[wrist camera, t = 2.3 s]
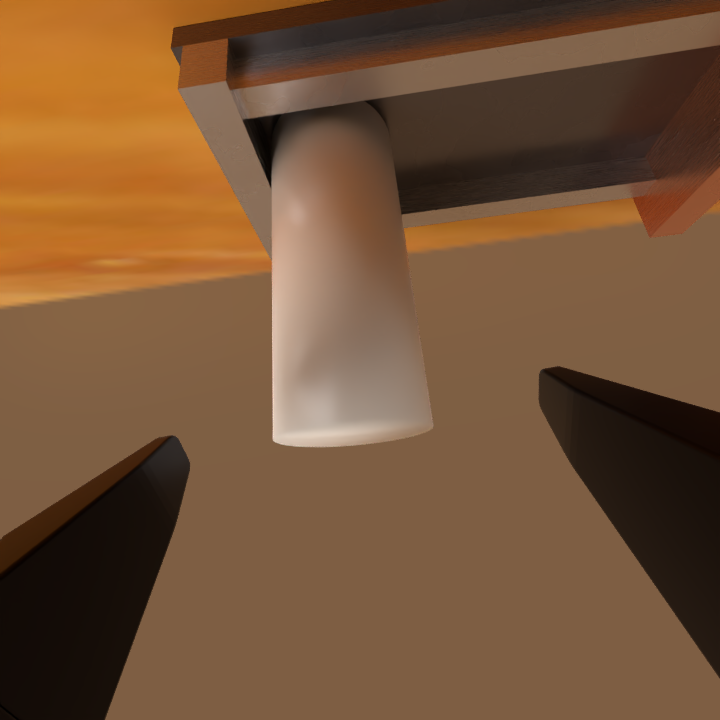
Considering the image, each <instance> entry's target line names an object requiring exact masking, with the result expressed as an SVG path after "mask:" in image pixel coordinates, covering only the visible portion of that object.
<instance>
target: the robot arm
mask: <svg viewBox="0 0 720 720" xmlns="http://www.w3.org/2000/svg"><path fill="white" fill-rule="evenodd" d="M539 404H540V407H541V410H542V412H543V414H544V415H545V417H546V419H547V421H548V423H549V425H550V427H551V429H552V430H553V432H554V434H555V436H556V438H557V440H558V442H559V443H560V446H561V447H562V449H563V451H564V453H565V455H566V456H567V458H568V460H569V462H570V463H571V465H572V466H573V468H574V469H575V471H576V472H577V474H578V475H579V476H580V478H581V479H582V481H583V482H584V484H585V485H586V486H587V488H588V489H589V491H590V492H591V494H592V495H593V497H594V498H595V499H596V501H597V502H598V504H599V505H600V507H601V508H602V510H603V511H604V513H605V514H606V515H607V517H608V518H609V520H610V521H611V522H612V524H613V525H614V527H615V528H616V530H617V531H618V533H619V534H620V536H621V537H622V538H623V540H624V541H625V543H626V544H627V546H628V547H629V549H630V550H631V551H632V553H633V554H634V556H635V557H636V559H637V560H638V561H639V563H640V564H641V566H642V567H643V568H644V570H645V572H646V573H647V574H648V576H649V577H650V579H651V580H652V582H653V583H654V585H655V586H656V587H657V589H658V590H659V592H660V593H661V595H662V596H663V597H664V599H665V600H666V602H667V603H668V605H669V606H670V608H671V609H672V610H673V612H674V613H675V615H676V616H677V617H678V619H679V621H680V622H681V623H682V625H683V626H684V628H685V629H686V631H687V632H688V633H689V635H690V636H691V638H692V639H693V641H694V642H695V644H696V645H697V646H698V648H699V649H700V651H701V652H702V654H703V655H704V657H705V658H706V659H707V661H708V662H709V664H710V665H711V666H712V668H713V669H714V671H715V672H716V674H717V675H718V677H719V678H720V412H716V411H713V410H709V409H706V408H702V407H699V406H695V405H692V404H688V403H685V402H681V401H678V400H675V399H671V398H667V397H664V396H660V395H657V394H653V393H650V392H647V391H643V390H640V389H636V388H633V387H629V386H626V385H622V384H619V383H616V382H612V381H609V380H605V379H602V378H598V377H595V376H591V375H588V374H584V373H581V372H577V371H573V370H570V369H567V368H563V367H560V366H557V367H551V368H545V369H542V370H541V371H540V374H539ZM189 471H190V462H189V459H188V457H187V455H186V453H185V451H184V449H183V447H182V445H181V443H180V441H179V439H178V438H177V437H176V436H173V435H171V436H165V437H159V438H157V439H155V440H153V441H152V442H150V443H149V444H147V445H146V446H144V447H142V448H141V449H139V450H138V451H136V452H135V453H133V454H132V455H130V456H128V457H127V458H125V459H124V460H122V461H120V462H119V463H117V464H116V465H114V466H113V467H111V468H109V469H108V470H106V471H105V472H103V473H102V474H100V475H99V476H97V477H95V478H94V479H92V480H91V481H89V482H88V483H86V484H84V485H83V486H81V487H80V488H78V489H77V490H75V491H73V492H72V493H70V494H69V495H67V496H66V497H64V498H63V499H61V500H59V501H58V502H56V503H55V504H53V505H51V506H50V507H48V508H47V509H45V510H44V511H42V512H41V513H39V514H37V515H36V516H34V517H33V518H31V519H30V520H28V521H27V522H25V523H23V524H22V525H20V526H19V527H17V528H15V529H14V530H12V531H11V532H9V533H8V534H6V535H4V536H3V537H2V539H1V540H0V720H105V718H106V715H107V713H108V710H109V707H110V704H111V702H112V699H113V696H114V693H115V691H116V688H117V685H118V683H119V680H120V677H121V674H122V671H123V669H124V666H125V663H126V661H127V658H128V655H129V652H130V650H131V647H132V644H133V641H134V639H135V636H136V633H137V630H138V628H139V625H140V622H141V619H142V617H143V614H144V611H145V608H146V606H147V603H148V600H149V598H150V595H151V592H152V589H153V586H154V584H155V581H156V578H157V575H158V573H159V570H160V567H161V565H162V562H163V559H164V557H165V554H166V551H167V548H168V546H169V543H170V540H171V537H172V534H173V531H174V528H175V526H176V522H177V519H178V515H179V511H180V507H181V503H182V499H183V495H184V491H185V487H186V483H187V479H188V475H189Z"/></svg>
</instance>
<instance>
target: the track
mask: <svg viewBox="0 0 720 720" xmlns="http://www.w3.org/2000/svg"><path fill="white" fill-rule="evenodd" d="M171 49H172V51H173V53H174V55H175V57H176V59H177V61H178V63H179V65H180V74H179V83H178V90H179V92H180V94H181V96H182V98H183V99H184V101H185V103H186V105H187V107H188V109H189V110H190V112H191V114H192V116H193V118H194V120H195V121H196V123H197V125H198V127H199V129H200V131H201V132H202V134H203V136H204V138H205V140H206V141H207V143H208V145H209V147H210V149H211V151H212V152H213V154H214V156H215V158H216V160H217V162H218V163H219V165H220V167H221V169H222V171H223V173H224V174H225V176H226V178H227V180H228V182H229V184H230V185H231V187H232V189H233V191H234V193H235V194H236V196H237V198H238V200H239V202H240V204H241V205H242V207H243V209H244V211H245V213H246V215H247V216H248V218H249V220H250V222H251V224H252V226H253V227H254V229H255V231H256V233H257V235H258V237H259V238H260V240H261V242H262V244H263V246H264V248H265V249H266V251H267V253H268V255H269V257H270V258H271V260H272V173H271V140H272V134H273V130H274V127H275V125H276V123H277V121H278V119H279V118H280V116H281V115H282V114H283V113H288V112H295V111H301V110H307V109H314V108H320V107H327V106H333V105H339V104H346V103H352V102H359V101H365V102H366V103H368V104H369V105H371V106H372V107H373V108H374V109H375V110H376V111H377V112H378V113H379V114H380V116H381V117H382V119H383V120H384V122H385V124H386V126H387V129H388V132H389V136H390V142H391V149H392V155H393V162H394V169H395V175H396V182H397V188H398V195H399V202H400V208H401V215H402V221H403V228H408V227H416V226H423V225H431V224H438V223H445V222H453V221H460V220H468V219H475V218H483V217H490V216H498V215H505V214H513V213H520V212H527V211H535V210H542V209H550V208H557V207H565V206H572V205H580V204H587V203H595V202H602V201H610V200H617V199H624V198H632V197H633V199H634V202H635V204H636V206H637V209H638V211H639V214H640V216H641V218H642V221H643V223H644V225H645V228H646V230H647V232H648V235H649V237H650V238H651V237H659V236H667V235H675V234H682V233H683V232H684V231H686V230H687V229H688V228H689V227H690V226H691V225H692V224H693V223H694V222H695V221H696V220H698V219H699V218H700V217H701V216H702V215H703V214H704V213H705V212H706V211H707V210H709V209H710V208H711V207H712V206H713V205H714V204H715V203H716V202H717V201H718V200H720V0H333V1H327V2H322V3H316V4H310V5H304V6H299V7H293V8H287V9H281V10H276V11H270V12H264V13H258V14H253V15H247V16H241V17H235V18H230V19H224V20H218V21H212V22H207V23H201V24H195V25H189V26H184V27H178V28H173V36H172V43H171Z"/></svg>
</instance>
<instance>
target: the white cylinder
mask: <svg viewBox="0 0 720 720" xmlns="http://www.w3.org/2000/svg"><path fill="white" fill-rule="evenodd" d="M271 173H272V346H273V347H272V348H273V349H272V351H273V353H272V356H273V441H274V442H276V443H278V444H282V445H288V446H298V447H299V446H300V447H336V446H352V445H363V444H372V443H378V442H386V441H392V440H397V439H403V438H407V437H412V436H416V435H419V434H422V433H425V432H427V431H429V430H431V429H432V428H433V419H432V412H431V406H430V399H429V393H428V386H427V380H426V373H425V367H424V360H423V353H422V347H421V341H420V333H419V328H418V320H417V314H416V307H415V300H414V294H413V288H412V281H411V274H410V268H409V261H408V254H407V248H406V241H405V235H404V228H403V221H402V215H401V208H400V202H399V195H398V188H397V182H396V175H395V169H394V162H393V155H392V149H391V142H390V136H389V132H388V129H387V126H386V124H385V122H384V120H383V119H382V117H381V116H380V114H379V113H378V112H377V111H376V110H375V109H374V108H373V107H372V106H371V105H369V104H368V103H366V102H365V101H359V102H352V103H346V104H339V105H333V106H327V107H320V108H314V109H307V110H301V111H295V112H288V113H283V114H282V115H281V116H280V118H279V119H278V121H277V123H276V125H275V127H274V130H273V134H272V140H271Z"/></svg>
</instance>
